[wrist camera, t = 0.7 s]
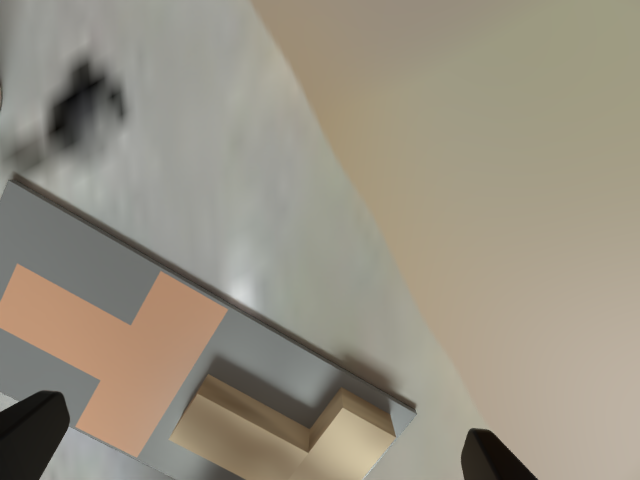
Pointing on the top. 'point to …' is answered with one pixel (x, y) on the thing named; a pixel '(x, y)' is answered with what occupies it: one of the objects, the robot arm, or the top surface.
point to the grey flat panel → (140, 340)
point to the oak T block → (283, 436)
